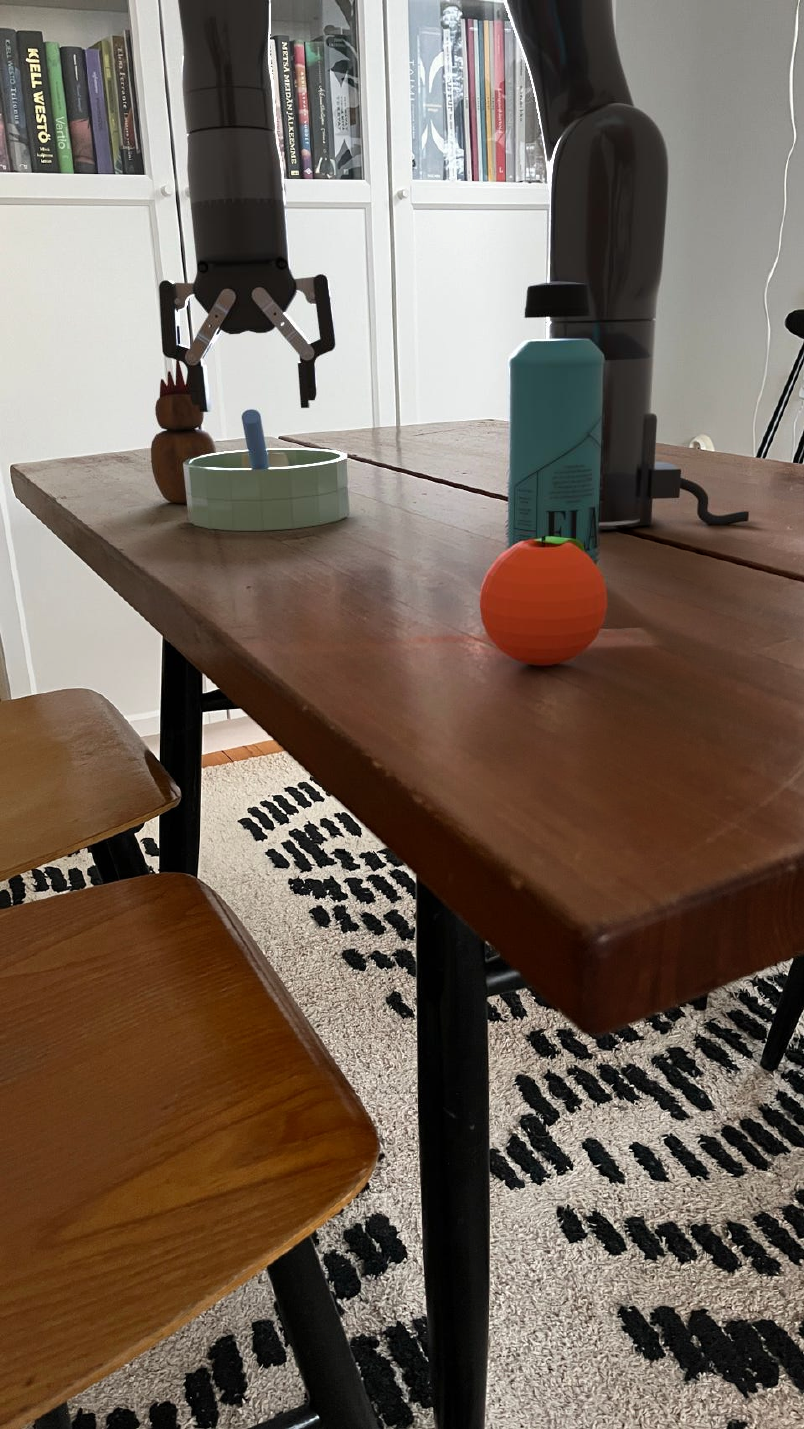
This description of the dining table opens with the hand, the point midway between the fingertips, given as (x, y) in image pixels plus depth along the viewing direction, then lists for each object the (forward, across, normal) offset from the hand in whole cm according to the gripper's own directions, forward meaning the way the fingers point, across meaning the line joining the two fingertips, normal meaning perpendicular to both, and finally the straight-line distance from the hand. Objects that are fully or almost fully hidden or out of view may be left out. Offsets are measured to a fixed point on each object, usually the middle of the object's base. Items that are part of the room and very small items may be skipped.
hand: (255, 409), depth 90 cm
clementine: (+12, +18, -38) cm, 44 cm away
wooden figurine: (+11, -10, +22) cm, 27 cm away
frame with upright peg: (+8, 0, +3) cm, 9 cm away
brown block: (+9, 0, +8) cm, 12 cm away
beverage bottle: (+12, +22, -22) cm, 33 cm away
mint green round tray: (+11, 0, +8) cm, 14 cm away
